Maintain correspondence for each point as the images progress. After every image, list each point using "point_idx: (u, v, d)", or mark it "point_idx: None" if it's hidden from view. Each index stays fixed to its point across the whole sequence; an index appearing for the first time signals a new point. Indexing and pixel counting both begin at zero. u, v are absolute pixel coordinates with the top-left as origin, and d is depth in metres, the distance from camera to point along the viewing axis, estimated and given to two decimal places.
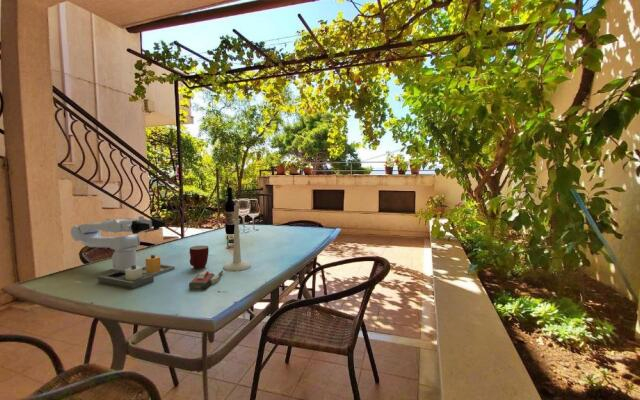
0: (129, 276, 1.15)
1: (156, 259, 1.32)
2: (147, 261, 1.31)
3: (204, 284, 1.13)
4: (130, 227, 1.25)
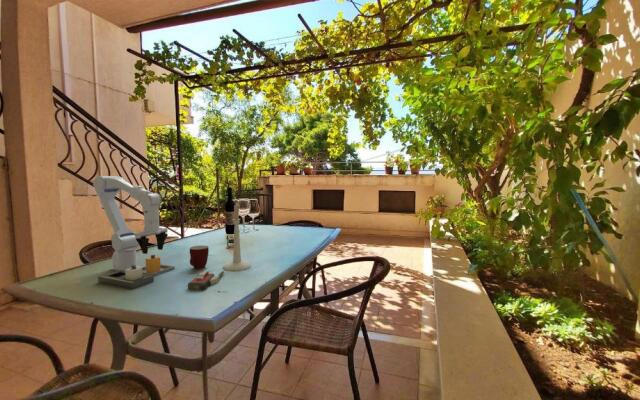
0: (129, 276, 1.15)
1: (156, 259, 1.32)
2: (147, 261, 1.31)
3: (203, 284, 1.13)
4: (138, 237, 1.25)
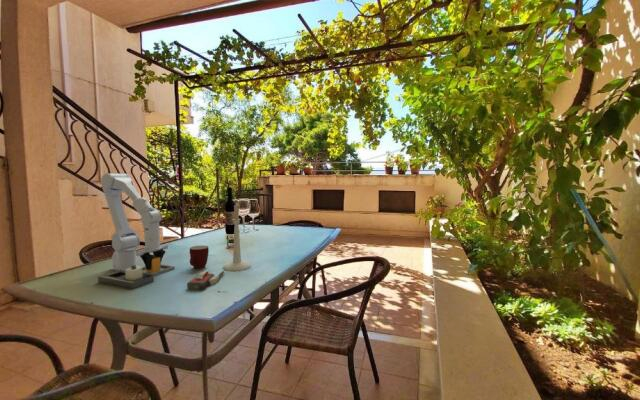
0: (129, 276, 1.15)
1: (156, 259, 1.32)
2: None
3: (202, 284, 1.13)
4: (139, 255, 1.26)
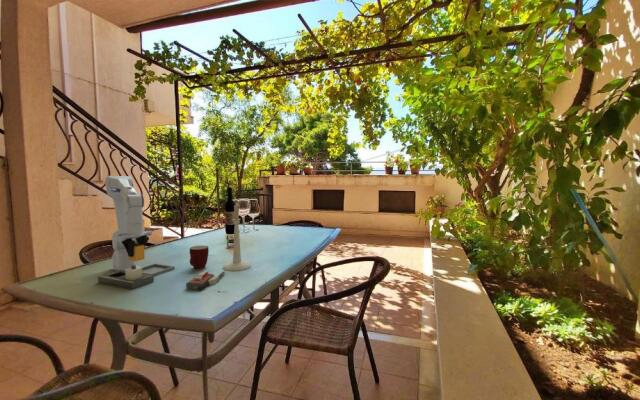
0: (129, 276, 1.15)
1: (140, 247, 1.25)
2: None
3: (200, 285, 1.13)
4: (120, 241, 1.19)
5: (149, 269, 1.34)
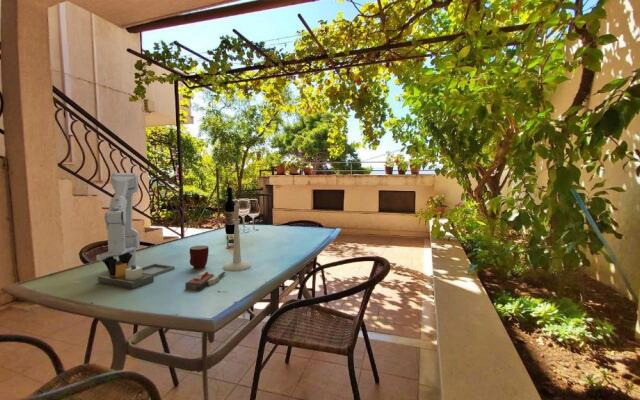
0: (129, 276, 1.15)
1: (122, 265, 1.19)
2: None
3: (199, 285, 1.12)
4: (100, 260, 1.14)
5: (149, 269, 1.34)
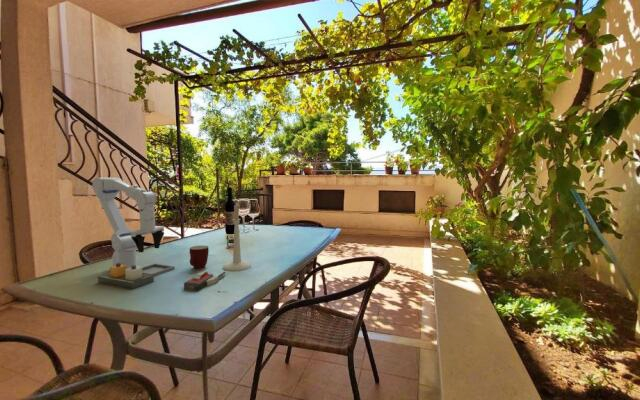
0: (129, 276, 1.15)
1: (122, 268, 1.19)
2: (112, 270, 1.18)
3: (197, 285, 1.12)
4: None
5: (149, 269, 1.34)
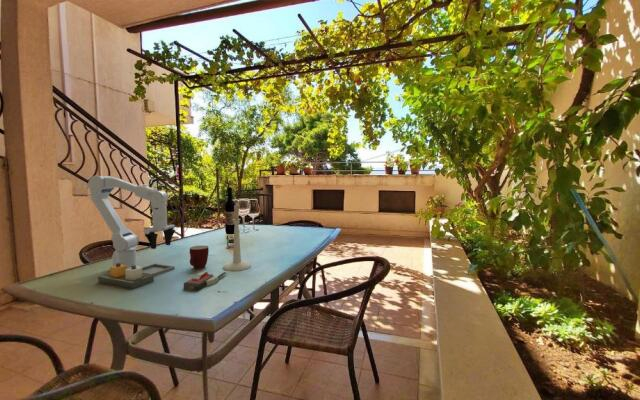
0: (129, 276, 1.15)
1: (122, 268, 1.19)
2: (112, 270, 1.18)
3: (197, 285, 1.12)
4: None
5: (149, 269, 1.34)
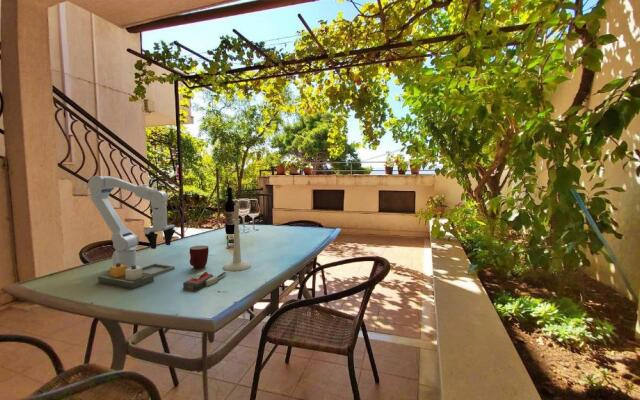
0: (129, 276, 1.15)
1: (122, 268, 1.19)
2: (112, 270, 1.18)
3: (196, 285, 1.12)
4: None
5: (149, 269, 1.34)
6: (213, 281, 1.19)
